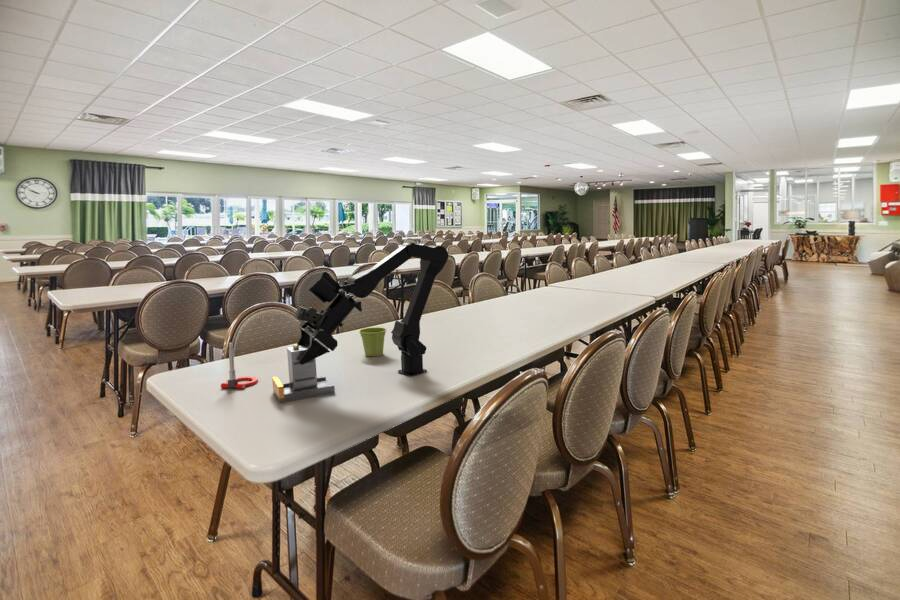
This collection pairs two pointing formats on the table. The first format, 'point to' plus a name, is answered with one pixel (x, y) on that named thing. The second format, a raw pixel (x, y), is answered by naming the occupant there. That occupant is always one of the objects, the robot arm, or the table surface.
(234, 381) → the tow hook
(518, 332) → the table surface
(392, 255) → the robot arm
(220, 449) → the table surface
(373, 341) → the plant pot
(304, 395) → the grey channel rail
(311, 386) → the grey grooved upright block
